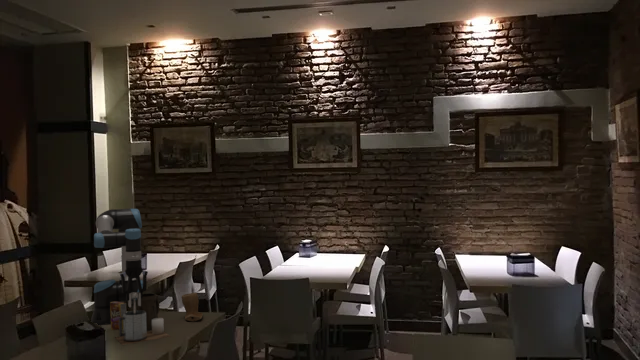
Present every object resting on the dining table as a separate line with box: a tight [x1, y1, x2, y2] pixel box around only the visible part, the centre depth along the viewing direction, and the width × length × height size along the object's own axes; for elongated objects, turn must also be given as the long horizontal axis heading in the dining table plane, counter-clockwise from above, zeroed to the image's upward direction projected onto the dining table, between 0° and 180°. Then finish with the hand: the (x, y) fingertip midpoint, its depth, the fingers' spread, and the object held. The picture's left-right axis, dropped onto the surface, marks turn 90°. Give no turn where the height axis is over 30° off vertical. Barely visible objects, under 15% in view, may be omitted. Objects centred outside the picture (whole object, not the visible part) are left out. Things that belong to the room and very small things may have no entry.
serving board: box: [114, 330, 172, 346], centre depth 283 cm, size 16×24×2 cm, turn 122°
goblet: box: [130, 292, 139, 315], centre depth 280 cm, size 8×8×20 cm
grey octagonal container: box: [118, 309, 148, 343], centre depth 279 cm, size 11×13×13 cm
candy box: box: [110, 301, 128, 331], centre depth 302 cm, size 9×4×15 cm, turn 57°
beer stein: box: [136, 293, 160, 332], centre depth 301 cm, size 15×11×20 cm
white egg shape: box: [151, 317, 165, 334], centre depth 290 cm, size 6×6×7 cm
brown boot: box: [181, 292, 203, 322], centre depth 323 cm, size 15×12×15 cm
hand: (134, 306), depth 280 cm, fingers closed on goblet, 4 cm apart
